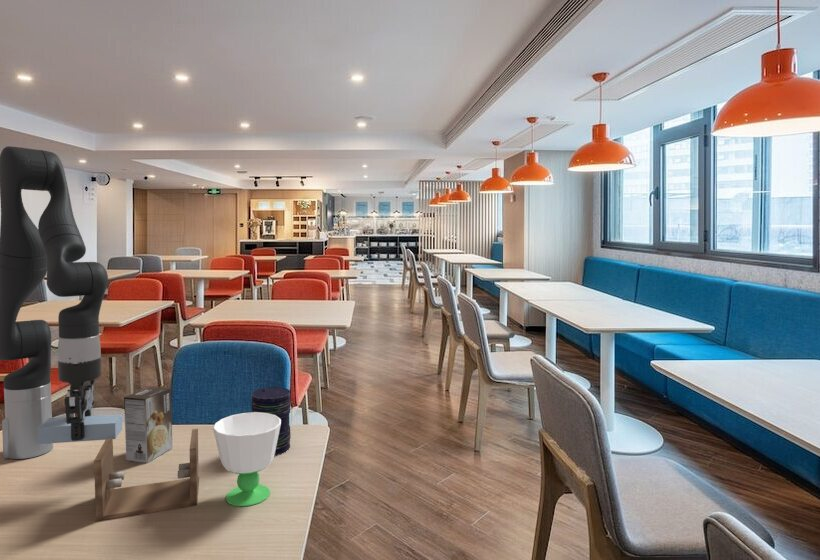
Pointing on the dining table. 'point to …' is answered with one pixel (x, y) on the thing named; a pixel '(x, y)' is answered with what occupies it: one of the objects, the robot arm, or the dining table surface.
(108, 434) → the light blue rectangular block
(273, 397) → the dark blue cylinder
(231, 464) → the cup
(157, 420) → the coffee box
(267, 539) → the dining table surface
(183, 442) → the dining table surface
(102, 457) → the peg frame
